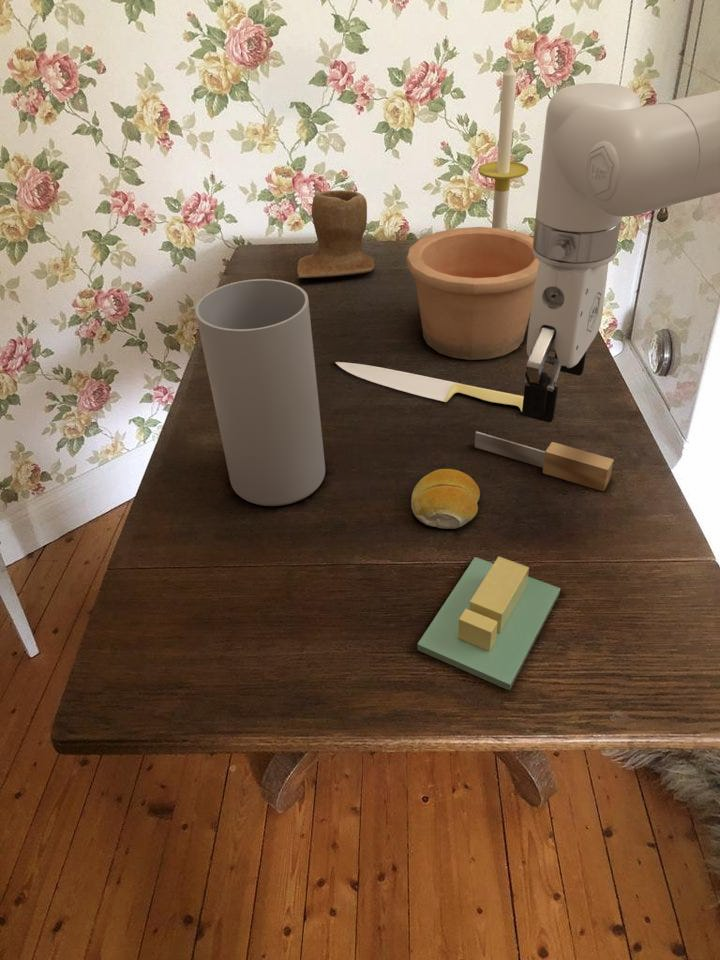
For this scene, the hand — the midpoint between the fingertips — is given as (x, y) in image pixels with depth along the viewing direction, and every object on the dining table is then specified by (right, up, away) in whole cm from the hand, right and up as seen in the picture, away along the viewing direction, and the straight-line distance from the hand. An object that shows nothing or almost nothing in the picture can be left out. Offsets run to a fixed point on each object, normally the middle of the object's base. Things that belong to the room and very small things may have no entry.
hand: (553, 393), depth 80 cm
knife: (-10, +4, +34) cm, 36 cm away
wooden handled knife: (+3, -7, +19) cm, 20 cm away
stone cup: (-25, +32, +69) cm, 80 cm away
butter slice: (-9, -25, -4) cm, 27 cm away
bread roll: (-10, -13, +13) cm, 21 cm away
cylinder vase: (-31, -9, +20) cm, 38 cm away
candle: (+5, +28, +62) cm, 68 cm away
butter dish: (-7, -24, -1) cm, 25 cm away
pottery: (-2, +15, +46) cm, 49 cm away
